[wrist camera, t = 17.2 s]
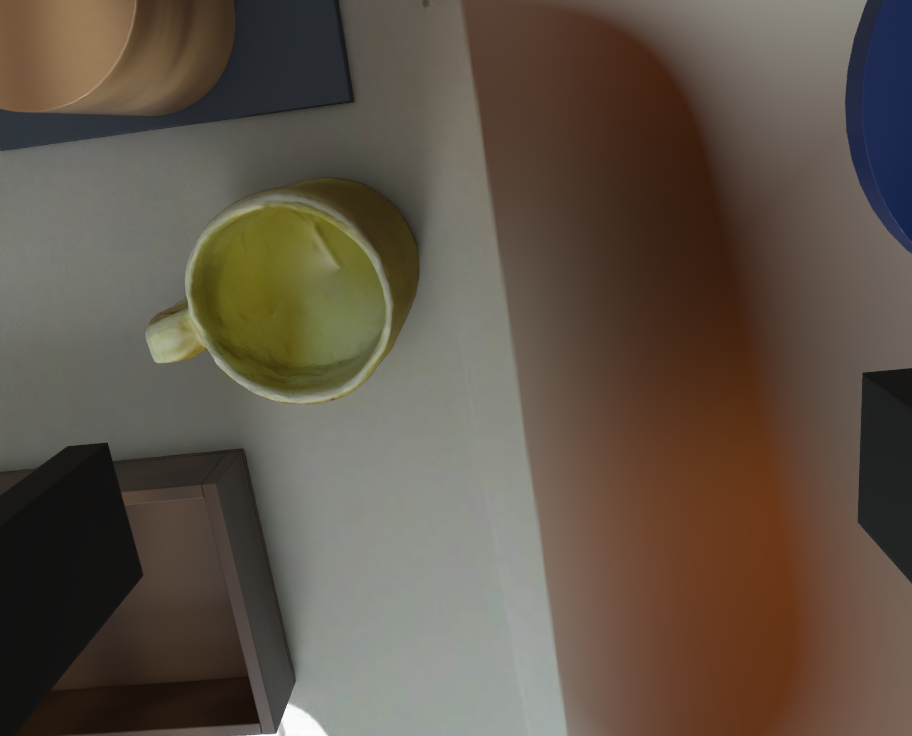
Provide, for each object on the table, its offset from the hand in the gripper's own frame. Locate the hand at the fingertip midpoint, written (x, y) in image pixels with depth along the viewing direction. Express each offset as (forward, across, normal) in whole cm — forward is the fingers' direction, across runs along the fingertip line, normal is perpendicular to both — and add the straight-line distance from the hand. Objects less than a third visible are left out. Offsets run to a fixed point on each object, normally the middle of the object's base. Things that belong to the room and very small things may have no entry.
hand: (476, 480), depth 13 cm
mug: (+27, -10, 0) cm, 29 cm away
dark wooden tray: (+26, -25, -17) cm, 40 cm away
